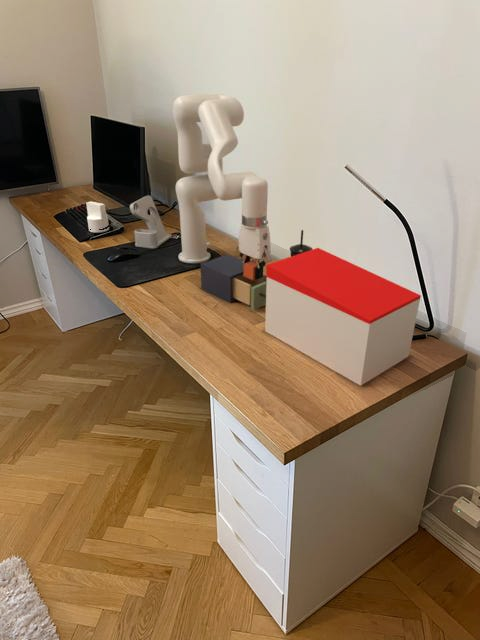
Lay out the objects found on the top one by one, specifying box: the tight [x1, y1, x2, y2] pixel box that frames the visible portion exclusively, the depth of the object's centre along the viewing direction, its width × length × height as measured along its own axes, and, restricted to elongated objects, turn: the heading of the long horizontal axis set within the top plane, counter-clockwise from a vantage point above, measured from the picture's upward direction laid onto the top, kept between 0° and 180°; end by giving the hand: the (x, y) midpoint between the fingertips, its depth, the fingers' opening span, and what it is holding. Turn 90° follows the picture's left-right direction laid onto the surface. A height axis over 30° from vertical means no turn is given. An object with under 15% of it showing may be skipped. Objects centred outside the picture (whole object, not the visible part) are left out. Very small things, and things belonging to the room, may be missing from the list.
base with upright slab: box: [85, 201, 110, 234], centre depth 221 cm, size 9×9×12 cm
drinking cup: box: [289, 229, 314, 257], centre depth 166 cm, size 8×8×20 cm
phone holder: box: [129, 194, 172, 249], centre depth 206 cm, size 17×10×18 cm, turn 162°
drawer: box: [232, 273, 267, 311], centre depth 157 cm, size 19×12×7 cm, turn 44°
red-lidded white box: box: [264, 247, 422, 387], centre depth 132 cm, size 21×35×21 cm, turn 40°
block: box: [243, 259, 256, 280], centre depth 155 cm, size 4×4×4 cm
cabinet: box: [200, 253, 243, 304], centre depth 165 cm, size 15×13×9 cm
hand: (253, 275), depth 156 cm, fingers closed on block, 4 cm apart
